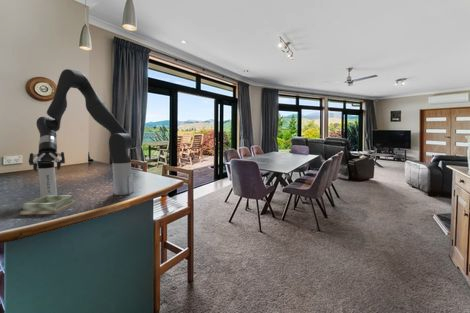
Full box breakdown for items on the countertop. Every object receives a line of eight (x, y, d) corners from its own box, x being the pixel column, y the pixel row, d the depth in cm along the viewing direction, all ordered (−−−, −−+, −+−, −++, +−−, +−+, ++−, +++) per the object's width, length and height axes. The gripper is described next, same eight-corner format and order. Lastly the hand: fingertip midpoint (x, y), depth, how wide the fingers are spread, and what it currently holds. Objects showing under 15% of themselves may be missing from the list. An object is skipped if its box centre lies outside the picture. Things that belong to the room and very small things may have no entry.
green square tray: (76, 203, 109) (75, 194, 109) (55, 213, 95) (54, 204, 95) (45, 203, 108) (45, 195, 108) (20, 214, 94) (19, 204, 94)
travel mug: (46, 198, 116) (43, 160, 114) (60, 198, 116) (57, 159, 114) (37, 202, 110) (33, 161, 107) (51, 202, 110) (47, 161, 108)
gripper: (28, 141, 116) (26, 166, 107) (63, 140, 124) (64, 164, 115) (31, 151, 121) (29, 175, 112) (65, 149, 129) (65, 172, 120)
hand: (47, 169), depth 114 cm, fingers open, 8 cm apart
